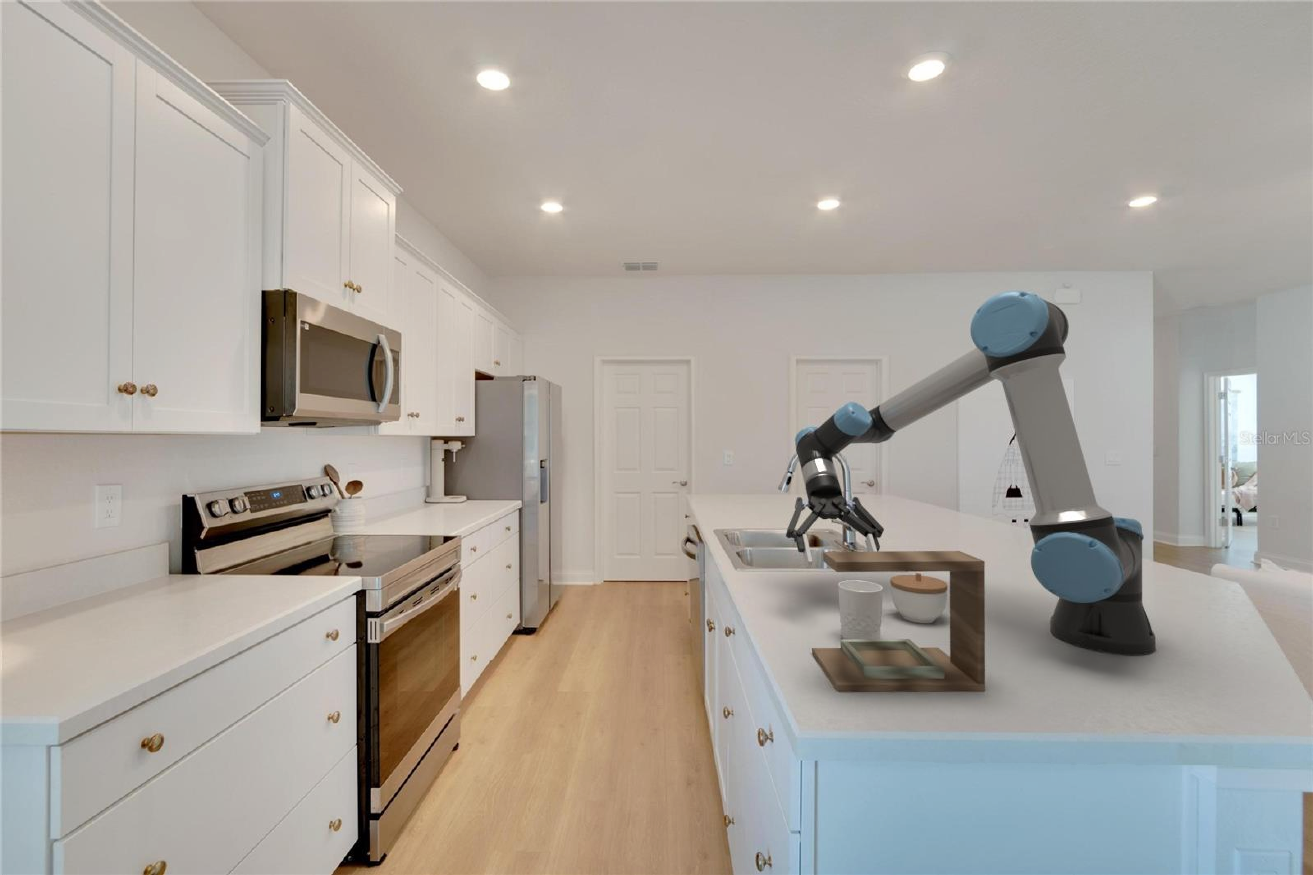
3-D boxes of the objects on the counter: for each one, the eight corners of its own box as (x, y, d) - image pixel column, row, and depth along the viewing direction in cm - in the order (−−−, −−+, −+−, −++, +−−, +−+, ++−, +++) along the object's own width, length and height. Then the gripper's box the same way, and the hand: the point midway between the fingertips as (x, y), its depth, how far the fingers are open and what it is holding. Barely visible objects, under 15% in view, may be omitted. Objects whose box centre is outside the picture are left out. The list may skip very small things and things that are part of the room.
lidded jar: (949, 615, 115) (949, 571, 115) (945, 631, 106) (945, 583, 106) (895, 607, 121) (894, 564, 121) (886, 621, 112) (886, 575, 112)
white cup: (884, 634, 105) (883, 582, 105) (882, 649, 98) (881, 593, 98) (840, 628, 108) (840, 578, 108) (836, 642, 101) (835, 588, 101)
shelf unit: (937, 653, 96) (937, 542, 96) (984, 691, 82) (984, 561, 82) (812, 653, 96) (811, 543, 96) (837, 691, 82) (836, 562, 82)
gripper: (871, 493, 128) (899, 574, 113) (765, 494, 128) (778, 574, 114) (880, 472, 123) (910, 554, 108) (769, 473, 123) (784, 555, 108)
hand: (843, 565), depth 111 cm, fingers open, 13 cm apart
